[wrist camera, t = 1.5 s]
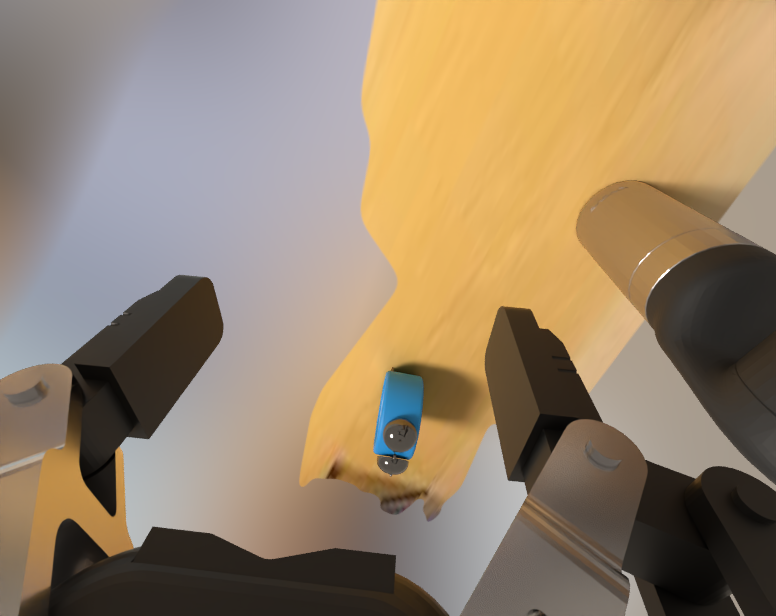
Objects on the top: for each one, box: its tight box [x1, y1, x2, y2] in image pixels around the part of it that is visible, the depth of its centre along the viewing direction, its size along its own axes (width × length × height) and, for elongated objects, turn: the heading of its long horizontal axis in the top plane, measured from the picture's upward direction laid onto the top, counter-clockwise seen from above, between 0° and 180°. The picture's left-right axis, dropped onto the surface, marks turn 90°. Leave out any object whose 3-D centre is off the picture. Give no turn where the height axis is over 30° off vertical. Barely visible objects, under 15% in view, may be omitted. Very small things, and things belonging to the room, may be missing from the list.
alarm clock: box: [374, 368, 424, 476], centre depth 56 cm, size 13×6×15 cm, turn 172°
